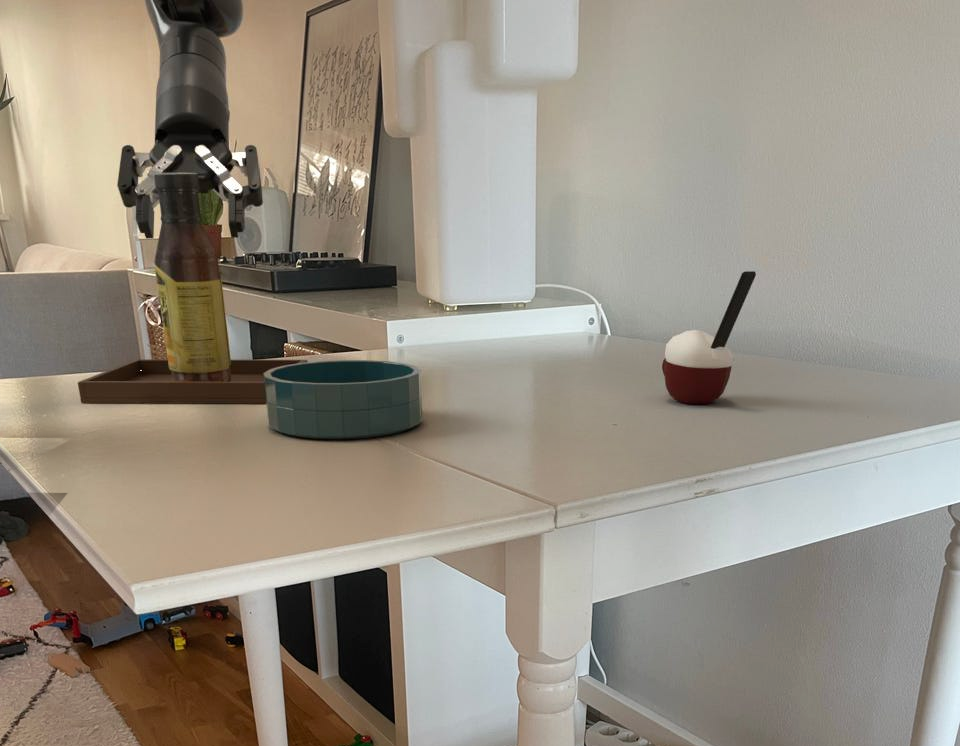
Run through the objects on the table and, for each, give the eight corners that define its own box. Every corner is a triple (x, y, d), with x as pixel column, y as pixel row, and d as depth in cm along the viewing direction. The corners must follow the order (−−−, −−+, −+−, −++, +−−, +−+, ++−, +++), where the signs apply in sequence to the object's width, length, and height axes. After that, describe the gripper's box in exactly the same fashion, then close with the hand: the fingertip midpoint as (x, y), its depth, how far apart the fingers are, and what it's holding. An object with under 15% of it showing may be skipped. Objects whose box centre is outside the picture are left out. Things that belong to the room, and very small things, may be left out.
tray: (80, 403, 94) (77, 382, 93) (138, 377, 108) (135, 359, 107) (276, 403, 93) (274, 382, 93) (309, 378, 107) (307, 359, 106)
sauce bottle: (182, 379, 104) (156, 173, 96) (240, 379, 104) (218, 173, 95) (161, 390, 98) (131, 171, 90) (223, 390, 98) (198, 171, 89)
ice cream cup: (648, 394, 97) (657, 266, 92) (708, 392, 98) (719, 265, 93) (683, 413, 88) (694, 272, 83) (748, 410, 89) (763, 271, 84)
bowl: (251, 440, 79) (245, 384, 77) (288, 409, 91) (283, 359, 89) (413, 441, 78) (411, 384, 76) (428, 409, 90) (427, 360, 88)
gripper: (114, 81, 100) (108, 204, 94) (255, 82, 101) (257, 203, 96) (132, 142, 107) (128, 260, 101) (264, 142, 108) (266, 257, 103)
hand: (190, 232), depth 98 cm, fingers open, 8 cm apart
